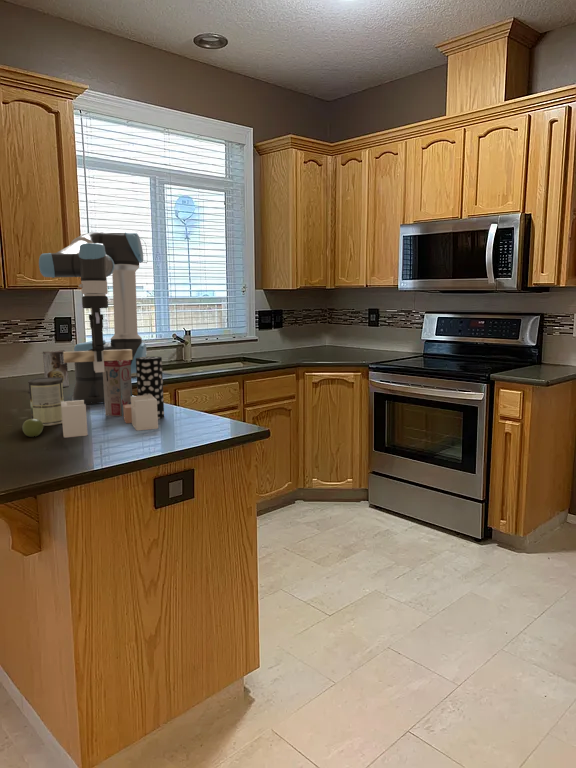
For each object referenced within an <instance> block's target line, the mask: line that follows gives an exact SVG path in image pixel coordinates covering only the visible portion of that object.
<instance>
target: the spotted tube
mask: <svg viewBox="0 0 576 768" xmlns="http://www.w3.org/2000/svg"><path fill="white" fill-rule="evenodd" d="M162 360H163V358H162V356H152V355H151V356H147V357H138V358H136V374H137V376H136V388H137V389H136V391H137V396H142V395H152V396H153V397H155V398H156V399H157V413H158V420H159V419H160V420H161V419H163V418H165V402H164V379H163V361H162Z"/></svg>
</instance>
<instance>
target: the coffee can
mask: <svg viewBox="0 0 576 768" xmlns="http://www.w3.org/2000/svg"><path fill="white" fill-rule="evenodd" d="M62 381H63V379H62V378H58V377H47V378H45V377H38V378H37V377H36V378H32V379H28V381H27V384H28V392H29V393H28V395H29V400H30V401H29V403H30V414H31V415H30V417H31V418H30V419H38V420H40V421H41V422H42V423H43V427H45V426H56V425H60V424H62V412H61V402H62V401H65V400H64V399H65V398H64V397H65V396H64V387H63V383H62Z"/></svg>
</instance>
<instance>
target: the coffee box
mask: <svg viewBox="0 0 576 768" xmlns="http://www.w3.org/2000/svg"><path fill="white" fill-rule="evenodd" d="M63 352H67V351H65V350H64V349H63V350H61V349H60V350H49V351H48V350H47V351H42V357H43V358H42V359H43V369H44V371H43V372H44V378H47V377H58V378H62V379H63V381H62V383H63V388H65V387H69V386H70V383H69V372H68V363H64V356H63Z"/></svg>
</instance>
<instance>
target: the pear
mask: <svg viewBox="0 0 576 768" xmlns="http://www.w3.org/2000/svg"><path fill="white" fill-rule="evenodd" d="M21 428H22V432H23V433H24V435H25V436H26V437H30V438H34V436H35V437H38V436H39V435H41V433H42V432H43V429H44V426H43V423H42V422H41V421H40V420H38V419H32V418H29V419H26V420H24V422H23V423H22V427H21Z"/></svg>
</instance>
